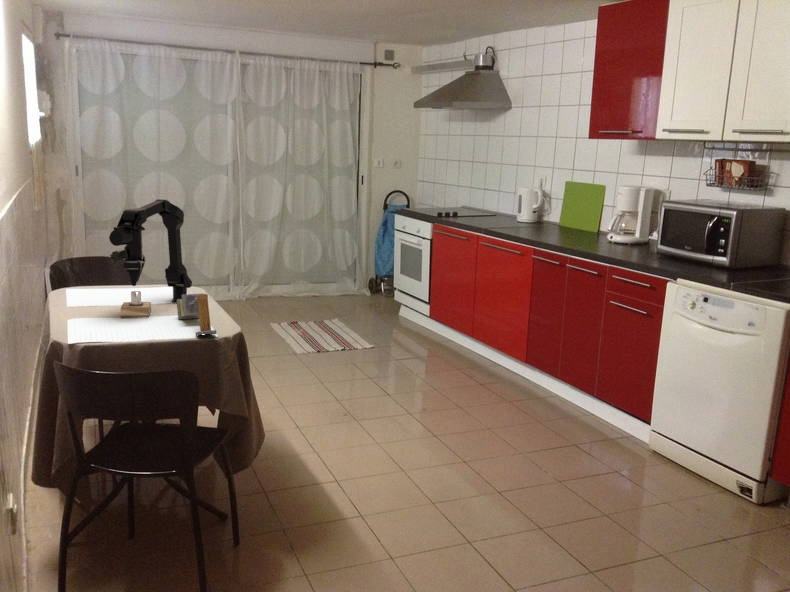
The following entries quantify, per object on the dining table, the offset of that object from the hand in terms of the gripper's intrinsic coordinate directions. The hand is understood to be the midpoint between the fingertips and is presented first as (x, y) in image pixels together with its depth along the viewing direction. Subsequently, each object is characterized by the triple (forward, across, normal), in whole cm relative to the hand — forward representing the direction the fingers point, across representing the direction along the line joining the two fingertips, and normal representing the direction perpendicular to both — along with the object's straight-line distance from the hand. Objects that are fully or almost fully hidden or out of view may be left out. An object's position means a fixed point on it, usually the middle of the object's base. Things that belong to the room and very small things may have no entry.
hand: (135, 283), depth 266 cm
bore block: (+12, 0, 0) cm, 12 cm away
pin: (+11, 0, 0) cm, 11 cm away
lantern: (+13, +21, +23) cm, 34 cm away
